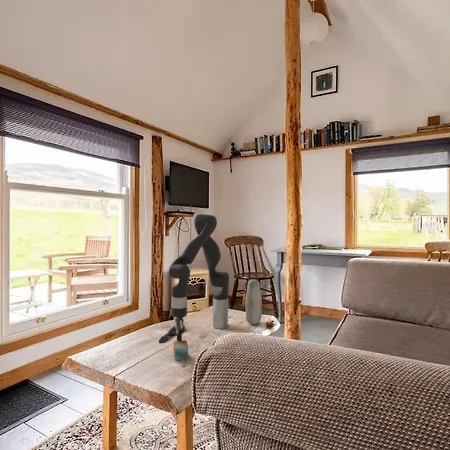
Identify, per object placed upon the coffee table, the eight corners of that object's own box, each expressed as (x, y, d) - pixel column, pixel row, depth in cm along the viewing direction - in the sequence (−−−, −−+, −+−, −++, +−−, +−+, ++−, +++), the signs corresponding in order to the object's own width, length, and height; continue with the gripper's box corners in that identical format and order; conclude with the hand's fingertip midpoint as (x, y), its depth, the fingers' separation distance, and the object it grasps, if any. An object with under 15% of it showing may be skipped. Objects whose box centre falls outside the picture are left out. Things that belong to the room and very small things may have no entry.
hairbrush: (152, 337, 168) (175, 321, 192) (153, 344, 168) (175, 327, 192) (166, 339, 165) (187, 322, 189) (166, 346, 166) (187, 328, 189)
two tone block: (173, 341, 151) (175, 348, 146) (186, 340, 153) (188, 347, 147) (173, 352, 152) (174, 360, 147) (186, 351, 154) (187, 358, 148)
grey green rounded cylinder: (245, 321, 204) (245, 277, 204) (261, 321, 203) (261, 278, 203) (245, 326, 194) (245, 280, 194) (261, 326, 193) (262, 280, 193)
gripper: (189, 308, 148) (189, 345, 148) (184, 301, 160) (184, 335, 161) (173, 310, 145) (173, 347, 146) (169, 302, 158) (169, 337, 158)
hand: (179, 341), depth 153 cm, fingers closed
